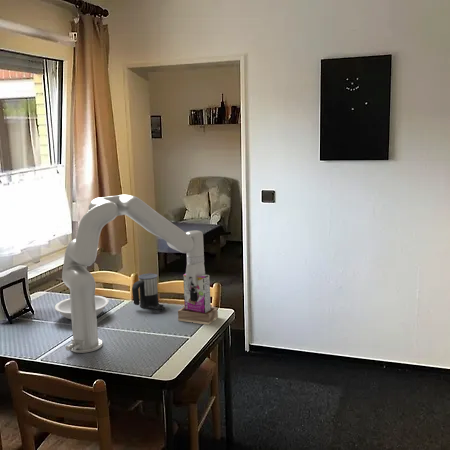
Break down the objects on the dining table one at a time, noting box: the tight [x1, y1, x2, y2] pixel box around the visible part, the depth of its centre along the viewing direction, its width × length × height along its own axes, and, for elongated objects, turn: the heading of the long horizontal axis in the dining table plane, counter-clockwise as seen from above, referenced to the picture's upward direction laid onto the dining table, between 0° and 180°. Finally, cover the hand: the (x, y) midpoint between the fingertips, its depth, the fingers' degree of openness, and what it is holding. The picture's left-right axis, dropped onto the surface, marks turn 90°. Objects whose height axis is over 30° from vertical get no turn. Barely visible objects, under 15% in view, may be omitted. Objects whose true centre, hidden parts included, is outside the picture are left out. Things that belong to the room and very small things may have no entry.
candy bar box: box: [182, 273, 212, 313], centre depth 234 cm, size 11×5×16 cm, turn 59°
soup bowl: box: [54, 295, 110, 320], centre depth 243 cm, size 24×24×7 cm
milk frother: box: [131, 273, 166, 312], centre depth 252 cm, size 14×16×15 cm
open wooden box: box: [177, 305, 219, 326], centre depth 236 cm, size 9×15×4 cm, turn 65°
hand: (197, 298), depth 235 cm, fingers closed on candy bar box, 5 cm apart
